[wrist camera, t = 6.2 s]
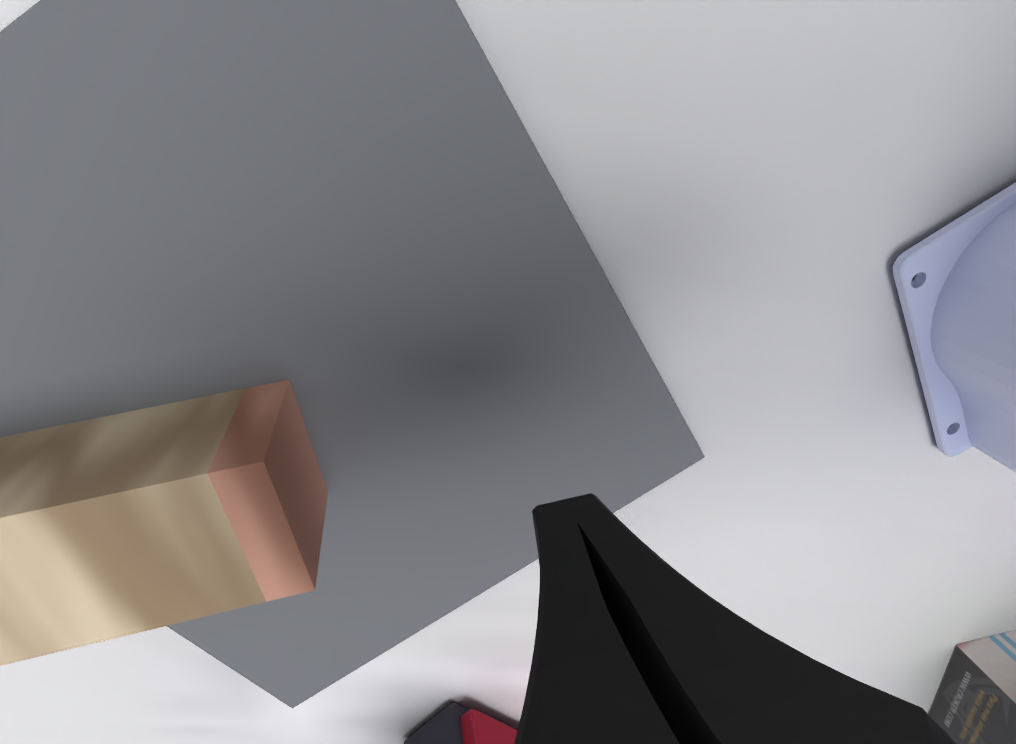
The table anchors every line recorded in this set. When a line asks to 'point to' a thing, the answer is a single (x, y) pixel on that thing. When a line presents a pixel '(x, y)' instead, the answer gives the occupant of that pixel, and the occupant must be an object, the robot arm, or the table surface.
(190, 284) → the mat
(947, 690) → the cake mix box
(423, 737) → the small drawer cabinet
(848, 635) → the table surface
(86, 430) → the maple block
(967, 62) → the table surface
